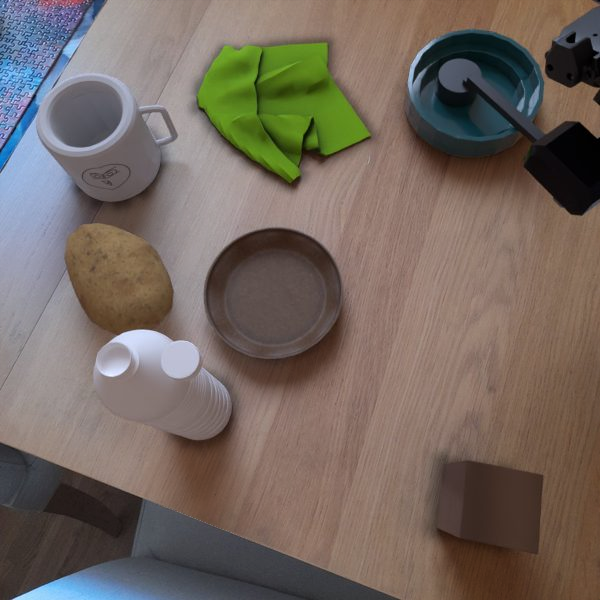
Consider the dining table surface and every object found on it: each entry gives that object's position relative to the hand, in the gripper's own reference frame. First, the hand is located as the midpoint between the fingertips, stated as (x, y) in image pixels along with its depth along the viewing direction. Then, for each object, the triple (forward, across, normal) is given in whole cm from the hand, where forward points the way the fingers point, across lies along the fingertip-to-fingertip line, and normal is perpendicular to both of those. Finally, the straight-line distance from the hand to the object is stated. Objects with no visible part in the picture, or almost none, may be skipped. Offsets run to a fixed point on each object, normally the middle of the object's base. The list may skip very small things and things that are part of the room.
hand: (597, 174), depth 51 cm
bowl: (+12, -4, -18) cm, 23 cm away
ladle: (+12, -4, -15) cm, 19 cm away
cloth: (+12, +14, -31) cm, 37 cm away
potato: (+12, +41, -22) cm, 48 cm away
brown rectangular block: (+13, +25, +16) cm, 33 cm away
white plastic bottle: (+13, +41, -6) cm, 43 cm away
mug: (+12, +33, -37) cm, 51 cm away
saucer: (+13, +29, -12) cm, 33 cm away
